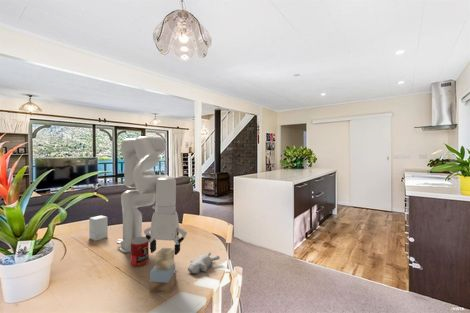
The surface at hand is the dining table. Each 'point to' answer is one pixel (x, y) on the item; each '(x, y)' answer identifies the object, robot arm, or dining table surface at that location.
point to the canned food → (139, 251)
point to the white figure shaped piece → (201, 263)
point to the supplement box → (98, 227)
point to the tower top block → (161, 274)
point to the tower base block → (163, 285)
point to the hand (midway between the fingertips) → (165, 252)
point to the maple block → (165, 258)
